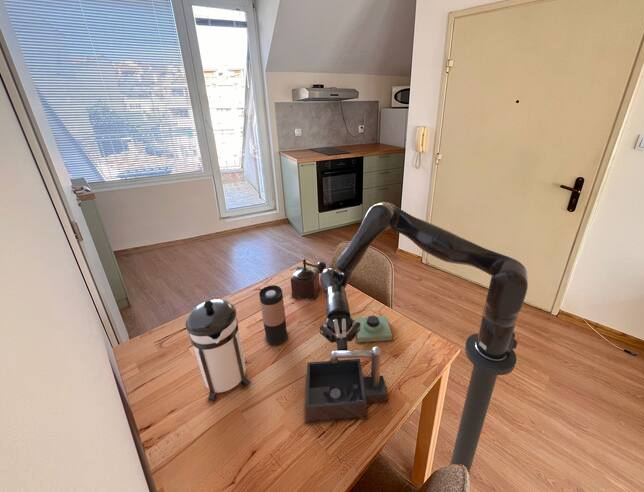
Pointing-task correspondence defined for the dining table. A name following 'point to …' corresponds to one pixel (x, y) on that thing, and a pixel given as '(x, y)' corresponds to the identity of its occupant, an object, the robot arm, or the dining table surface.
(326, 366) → the sink
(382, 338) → the switch block
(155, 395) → the dining table surface
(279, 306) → the travel mug
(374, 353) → the faucet
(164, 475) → the dining table surface
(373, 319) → the button
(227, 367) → the coffee press
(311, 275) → the manual coffee grinder
